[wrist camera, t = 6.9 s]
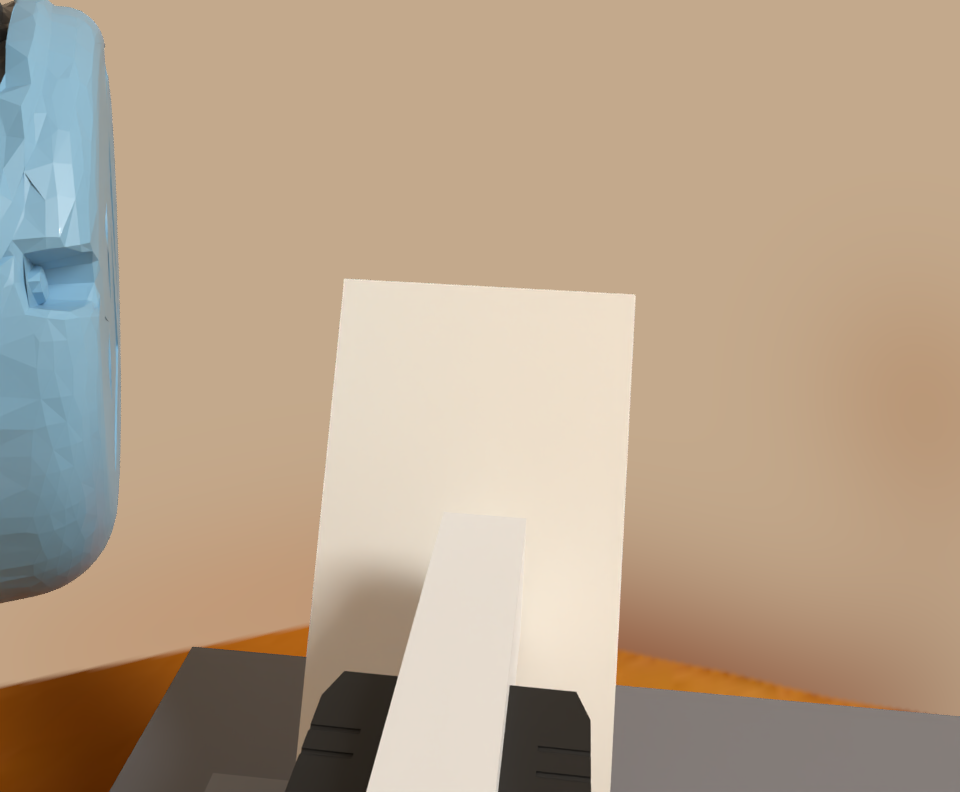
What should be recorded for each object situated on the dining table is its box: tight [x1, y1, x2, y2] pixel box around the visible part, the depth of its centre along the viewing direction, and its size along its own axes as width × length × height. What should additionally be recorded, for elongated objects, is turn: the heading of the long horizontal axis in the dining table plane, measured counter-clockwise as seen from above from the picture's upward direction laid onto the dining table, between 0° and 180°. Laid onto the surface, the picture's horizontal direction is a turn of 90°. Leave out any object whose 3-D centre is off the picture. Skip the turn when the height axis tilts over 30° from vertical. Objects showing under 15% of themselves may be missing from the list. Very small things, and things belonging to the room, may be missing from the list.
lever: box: [296, 279, 636, 792], centre depth 17 cm, size 2×6×12 cm
